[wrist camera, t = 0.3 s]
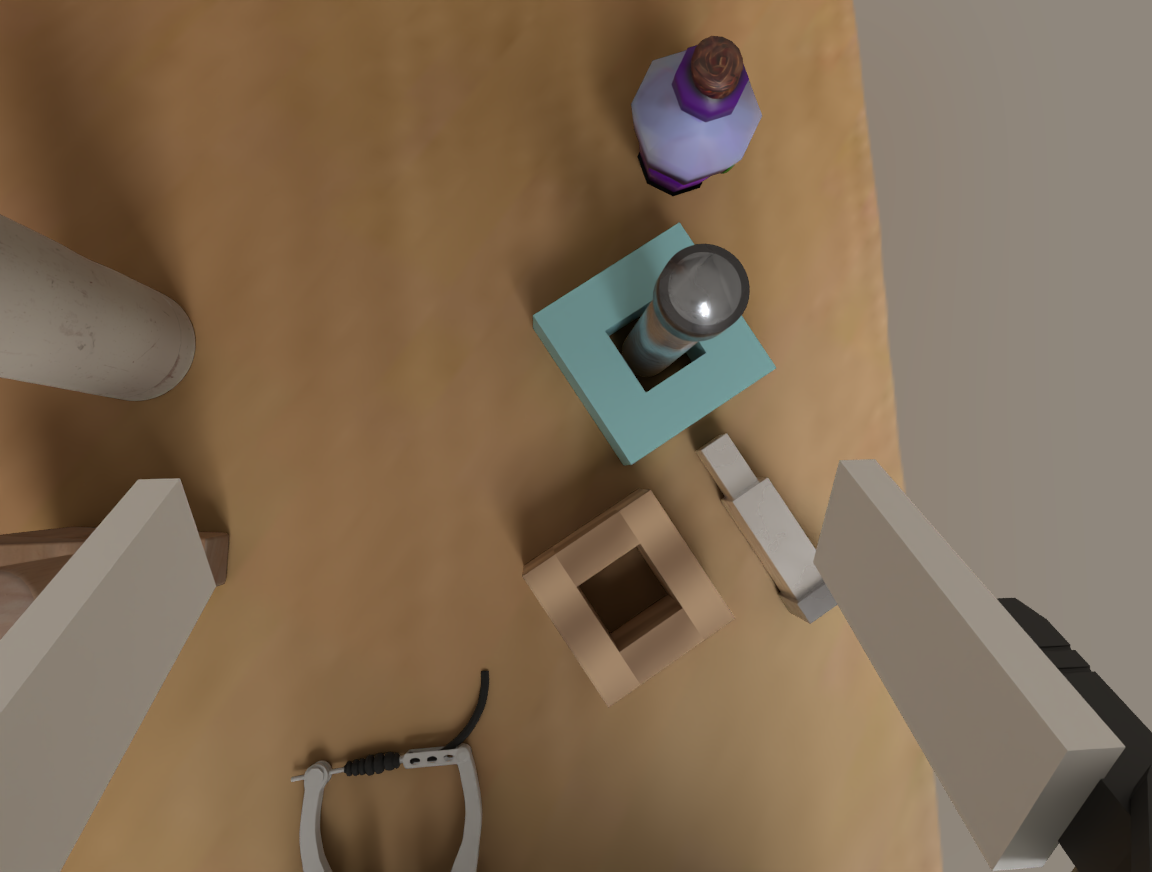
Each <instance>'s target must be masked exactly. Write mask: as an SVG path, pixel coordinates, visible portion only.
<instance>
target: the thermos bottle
mask: <svg viewBox="0 0 1152 872" xmlns="http://www.w3.org/2000/svg"><path fill="white" fill-rule="evenodd" d="M194 353H195V335H194V330H193V326H192V324H191V322H190V320H189V317H188V316H187V314H186V313H185V312H184V310H183V309H182V308H181V307H180V306H179V305H178V304H177V303H176V302H175V301H174V300H172V299H171V298H169V297H167V296H166V295H164V294H162V293H160V292H158V291H156V290H154V289H152V288H150V287H148V286H146V285H144V284H142V283H140V282H138V281H135V280H133V279H131V278H129V277H127V276H125V275H123V274H121V273H119V272H117V271H115V270H113V269H111V268H108V267H106V266H103V265H101V264H99V263H96V262H94V261H91V260H89V259H87V258H85V257H83V256H81V255H79V254H77V253H76V252H74V251H72V250H70V249H69V248H67V247H65V246H63V245H61V244H60V243H58V242H56V241H54V240H52V239H50V238H48V237H46V236H44V235H42V234H39V233H37V232H35V231H33V230H31V229H29V228H27V227H25V226H23V225H21V224H19V223H17V222H15V221H13V220H11V219H9V218H7V217H5V216H3V215H1V214H0V377H2V378H7V379H13V380H18V381H23V382H29V383H34V384H40V385H45V386H51V387H56V388H61V389H67V390H72V391H78V392H83V393H89V394H94V395H100V396H105V397H110V398H116V399H122V400H128V401H143V400H147V399H152V398H155V397H158V396H160V395H162V394H165V393H166V392H168V391H169V390H171V389H172V388H174V387H175V386H176V385H177V384H178V383H179V382H180V381H181V380H182V379H183V378H184V376H185V375H186V373H187V372H188V370H189V368H190V366H191V363H192V361H193V358H194Z"/></svg>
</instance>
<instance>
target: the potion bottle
mask: <svg viewBox="0 0 1152 872" xmlns="http://www.w3.org/2000/svg"><path fill="white" fill-rule="evenodd" d="M631 107H632V115H633V123H634V130H635V133H636V136H637V138H638V141H639V146H640V152H639V155H638V159H639V162H640V165H641V168H642V170H643V173H644V176H645V179H646V181H647V184H649V185H651V186H653V187H655V188H657V189H660V190H662V191H664V192H666V193H668V194H670V195H672V196H675V195H678V194H681V193H685V192H688V191H691V190H694V189H697V188H700V186H701V184H702V182H703V181H704V180H705V179H707V178H708V177H710V176H712V175H715V174H719V173H721V174H723V173H726V172H728V171H729V170H730V169H731V168H732V167H733V166H734V165H735V163H737V162H738V161H740V160H741V159H742V157H743V155H744V153H745V151H746V149H747V146H748V144H749V142H750V140H751V138H752V136H753V134H754V132H755V130H756V127H757V125H758V123H759V121H760V119H761V117H762V114H761V111H760V109H759V106H758V103H757V101H756V98H755V95H754V92H753V90H752V87H751V84H750V82H749V78H748V75H747V72H746V70H745V67H744V64H743V58H742V56H741V53H740V50H739V48H738V47H737V46H736V45H735V44H734V43H733V42H732V41H730V40H728V39H726V38H723V37H718V36H710V37H708V38H706V39H704V40H702V41H701V42H700V43H699V44H698V45H696V46H693V47H690V48H688V49H687V50H686V51H682V52H679V53H676V54H673V55H669V56H666V57H663V58H659V59H656V60H653V61H652V63H651V65H650V67H649V69H648V71H647V73H646V75H645V77H644V79H643V81H642V83H641V85H640V87H639V89H638V92H637V94H636V96H635V98H634V100H633V102H632V104H631Z"/></svg>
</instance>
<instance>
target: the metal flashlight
mask: <svg viewBox="0 0 1152 872" xmlns="http://www.w3.org/2000/svg"><path fill="white" fill-rule="evenodd" d="M748 299H749V280H748V277H747V274H746V271H745V269H744V268H743V266H742V264H741V263H740V262H739V260H738V259H737V258H736V257H735V256H734V255H733V254H731V253H730V252H729V251H727V250H725V249H723V248H721V247H718V246H715V245H710V244H696V245H692V246H689V247H686V248H684V249H682V250H680V251H679V252H677V253H676V254H675V255H674V256H673V257H672V258H671V259H670V260H669V261H668V263H667V264H666V266H665V267H664V269H663V271H662V272H661V274H660V275H659V277H658V279H657V281H656V283H655V286H654V290H653V300H652V301H651V302H650V304H649V305H648V307H647V308H646V310H645V311H644V313H643V314H642V316H641V317H640V319H639V320H638V322H637V323H636V325H635V326H634V328H633V329H632V331H631V332H630V333H629V335H628V336H627V338H626V339H625V341H624V343H623V346H622V357H623V359H624V360H625V362H626V363H627V365H628V366H629V368H630V369H631V371H632V372H633V373H634V374H636V375H638V376H642V377H651V376H654V375H657V374H659V373H660V372H661V371H663V370H664V369H665V368H666V367H668V366H669V365H670V364H671V363H673V362H674V361H675V360H676V359H678V358H679V357H680V356H681V355H683V354H684V353H685V352H686V351H687V350H689V349H690V348H691V347H692V346H694V345H695V344H696V343H697V342H700V341H706V340H709V339H712V338H714V337H716V336H718V335H719V334H721V333H722V332H723V331H725V330H726V329H727V328H729V327H730V326H731V325H733V324H734V323H735V322H736V321H737V320H738V319H739V318H740V317H741V315H742V314H743V312H744V310H745V308H746V306H747V303H748Z"/></svg>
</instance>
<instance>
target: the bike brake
mask: <svg viewBox="0 0 1152 872" xmlns="http://www.w3.org/2000/svg"><path fill="white" fill-rule="evenodd" d="M488 688H489V671H481V689H480V695H479V700H478V704H477V706H476V709H475V711H474V713H473V715H472V717H471V719H470V720H469V722H468V724H467V725H466V727H465V728H464V729H463V731H462V732H461V733H460V734H459V735H458V736H457V737H456V738H455V739H453V740H452V741H451V742H450V743H449V744H447V745H446V746H443V747H433V748H422V749H411V750H408V751H407V753H406V754H405V755H403V756H400V755H399V753H395V754H394V752H387V753H386V754H385V756H384V754H383V753H378V754H376V755H375V758H374V756H373V755H368V756H367V758H366V759H364V758H361V759H360V761H359V760H358V759H355V760H354V761H353V763H352V762H351V761H348V762H347V763H346V765H345V766H344V767H342V768H337V769H332V768H331V766H330V764H329V763H328V762H326V761H323V760H321V761H318V762H316V763H315V764H313V765H312V766H311V767H309V768H308V769H307V771H306V772H305V775H300V776H295V777H291V782H293V781H299V780H304V788H305V793H304V800H303V807H302V814H301V823H300V852H301V858H302V864H303V872H332V870H331V868H330V866H329V864H328V861H327V859H326V856H325V854H324V850H323V844H322V839H321V832H320V813H321V805H322V798H323V792H324V787H325V785H326V784H327V782H328V781H329V780H330V779H331V776H332V774H335V773H340V772H344V773H346V774H347V776H351V775H352V773H353V775H354V776H357V775H359V773H360V775H364V774H365V773H366V774H367V775H368V776H370V775H373V774H374V772H376V773H377V774H380V773H382V772H383V771H384V769H386V770H388V771H389V770H393V769H394V768H396V769H397V768H398V767H399V766H400V763H403V764H404V767H405V768H406V769H408V768H419V767H430V766H441V765H452V764H457V765H458V768H459V772H460V777H461V782H462V787H463V792H464V797H465V810H466V815H465V826H464V833H463V840H462V843H461V846H460V849H459V851H458V854H457V856H456V859H455V861H454V864H453V867H452V870H451V872H477V863H478V855H479V845H480V835H481V828H482V802H481V794H480V788H479V782H478V776H477V772H476V767H475V762H474V759H473V756H472V750H471V747H470V746H469V745H468V744H464V743H463V744H461V743H462V742H463V741H464V740H465V739H466V738H467V737H468V736H469V734H470V733H471V732H472V730H473V729H474V727H475V726H476V724H477V722H478V721H479V718H480V716H481V714H482V712H483V710H484V707H485V704H486V700H487V695H488ZM446 755H452V756H453V757H447V756H446ZM450 760H452V761H450ZM429 762H434V763H429ZM414 764H415V765H414Z"/></svg>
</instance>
